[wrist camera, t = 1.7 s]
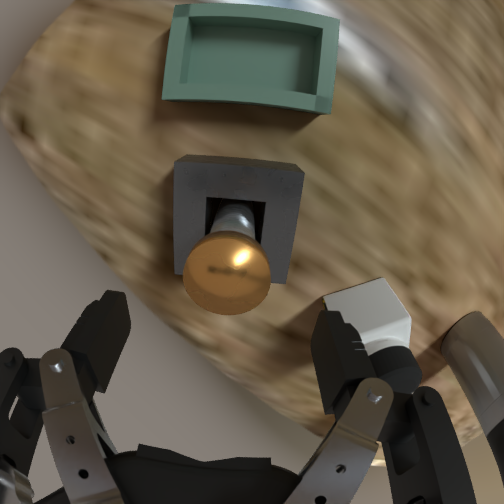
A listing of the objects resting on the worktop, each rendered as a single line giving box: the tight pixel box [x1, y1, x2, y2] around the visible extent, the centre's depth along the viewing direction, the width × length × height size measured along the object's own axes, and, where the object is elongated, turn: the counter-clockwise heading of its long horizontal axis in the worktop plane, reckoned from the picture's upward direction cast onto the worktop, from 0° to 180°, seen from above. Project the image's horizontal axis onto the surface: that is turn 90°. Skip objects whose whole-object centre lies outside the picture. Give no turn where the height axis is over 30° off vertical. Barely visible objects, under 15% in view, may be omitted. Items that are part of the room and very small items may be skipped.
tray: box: [162, 3, 340, 115], centre depth 17 cm, size 12×8×3 cm, turn 84°
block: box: [173, 155, 305, 284], centre depth 22 cm, size 9×9×4 cm
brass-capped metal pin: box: [183, 198, 271, 315], centre depth 19 cm, size 4×4×11 cm
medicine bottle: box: [322, 277, 422, 394], centre depth 24 cm, size 7×7×12 cm
